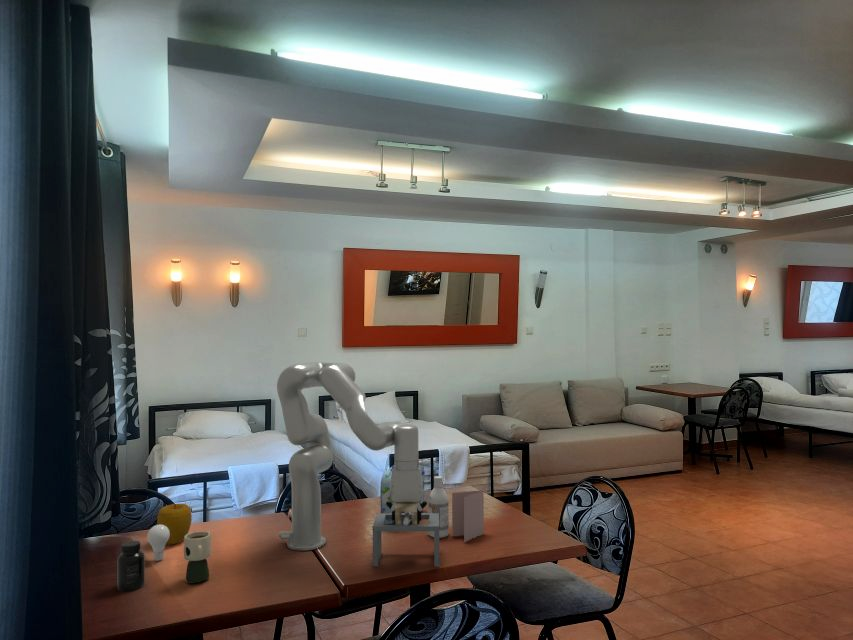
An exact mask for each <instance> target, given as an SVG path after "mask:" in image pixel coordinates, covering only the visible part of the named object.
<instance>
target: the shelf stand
mask: <svg viewBox="0 0 853 640" xmlns="http://www.w3.org/2000/svg"><path fill="white" fill-rule="evenodd" d="M387 519H392V513H381V512H379V513H376V515H375V518H374V521H373V524H372V567H373V566H378V567H379V564H378V563H380V560H381V559H380V558H381V555H382V546H383V545H382V543H383V542H382V532H393V533H394V532H397V531H400V532H412V531H417V532H429V531H434V537H433V538H434V539H433V543H434V544H433V549H434V550H433V552H434V553H433V555H434V557H433V558H434V563H433V564H434V568H435V567H437V568H438V567H439V568H440V538H439V513H428V512H427V513H426V512H425V513H422V512H421V520H428V524H418V525H412V524H410V523H409V519H412V513H410V512H405V513H401V519H404V522H403V524H404V525H394V524H385V520H387ZM397 533H398V532H397ZM379 559H380V560H379Z"/></svg>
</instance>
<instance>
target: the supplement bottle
mask: <svg viewBox="0 0 853 640" xmlns="http://www.w3.org/2000/svg"><path fill="white" fill-rule="evenodd" d="M120 547H121V550H120V552H121V553H120V554H119V555H118V556H117V560H116V562H117V564H116V565H117V567H116V569H117V572H116V573H117V574H116V575H117V577H116V578H117V589H118V590H119V591H120V592H131V591H132V592H133V591H135V590H136V591H137V590H139V589H140V588H142V587H143V586H144V585H145V581H146V580H145V579H146V578H145V577H146V575H145V565H146V564H145V552H143V551H142V550H141V548H142V547H141V541H139V540H130V541H126V542H124V543H121V546H120Z"/></svg>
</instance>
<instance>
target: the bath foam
mask: <svg viewBox="0 0 853 640" xmlns="http://www.w3.org/2000/svg"><path fill="white" fill-rule="evenodd" d="M443 481H444V480H443V476H440V475H438V476H437V475H435V476H434V478H433V489H432V490H431V491H430V493H429V495H430V496H431V497H432V499H431V501H430V502H429V503H428V504H427V505H428V506H427V507H428V512H427V513H439V539H441V538H446V537H447V536H448V535H449V530H450V529H449V528H450V526H449V525H450V522H449V520H450V518H449V514H450V513H449V509H450V508H449V504H450V503H449V496H448V494H447V492H446V491H445V488H444V487H443ZM428 536H429V537H431V538H434V531H428Z"/></svg>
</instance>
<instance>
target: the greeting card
mask: <svg viewBox="0 0 853 640" xmlns="http://www.w3.org/2000/svg"><path fill="white" fill-rule="evenodd" d="M484 497H485V496H484V490H473V491H471V490H470V491H460V492H459V491H458V492H452V493H451V503H452V505H451V507H452V508H451V511H452V512H451V513H452V519H451V522H452V523H451V526H452V527H451V529H452V530H451V531H452V537H453V536H455V537H461V536H460V535H464V536H463V543H464V542H465V543H467V542H468V540H469V541H471V540H473V539H475V538H478V537H480V536H482V535H484V533H485V532H484V530H485V528H484V527H485V525H484V524H485V523H484V522H485V521H484V520H485V519H484V515H485V513H484V512H485V511H484V509H485V508H484V507H485V506H484V504H485V503H484V500H485V499H484ZM477 536H478V537H477ZM472 538H473V539H472ZM470 539H471V540H470ZM466 541H467V542H466Z"/></svg>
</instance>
